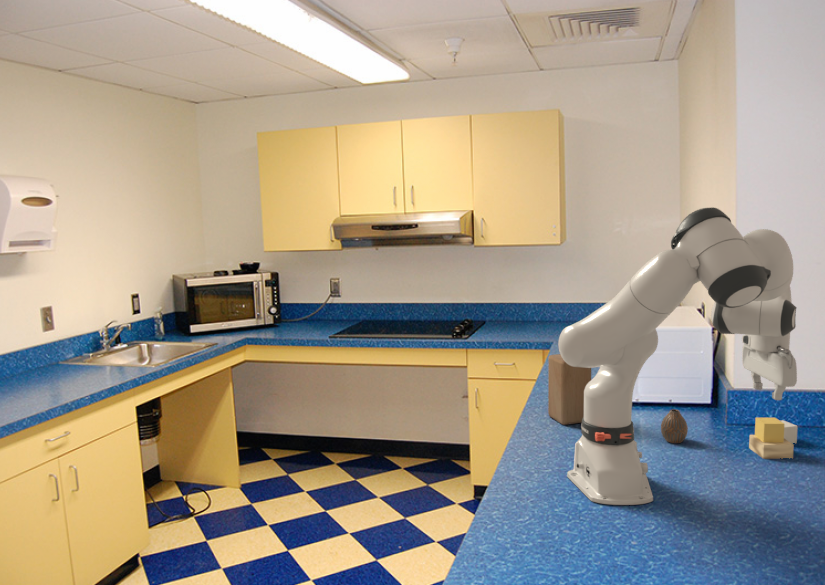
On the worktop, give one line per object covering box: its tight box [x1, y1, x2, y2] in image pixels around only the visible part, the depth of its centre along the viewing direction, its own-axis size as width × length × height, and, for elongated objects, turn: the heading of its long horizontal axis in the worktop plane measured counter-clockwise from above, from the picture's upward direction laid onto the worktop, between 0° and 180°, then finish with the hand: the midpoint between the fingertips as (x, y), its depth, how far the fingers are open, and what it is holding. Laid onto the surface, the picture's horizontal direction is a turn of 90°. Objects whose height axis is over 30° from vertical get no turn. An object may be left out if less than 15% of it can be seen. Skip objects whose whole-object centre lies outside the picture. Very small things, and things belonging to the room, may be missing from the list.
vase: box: [660, 408, 689, 444], centre depth 178 cm, size 7×7×9 cm
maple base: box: [748, 434, 795, 460], centre depth 168 cm, size 8×8×4 cm
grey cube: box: [780, 419, 798, 445], centre depth 176 cm, size 5×5×5 cm
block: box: [547, 353, 592, 426], centre depth 197 cm, size 10×10×20 cm
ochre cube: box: [754, 417, 784, 442], centre depth 168 cm, size 5×5×5 cm
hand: (766, 394), depth 168 cm, fingers open, 8 cm apart
